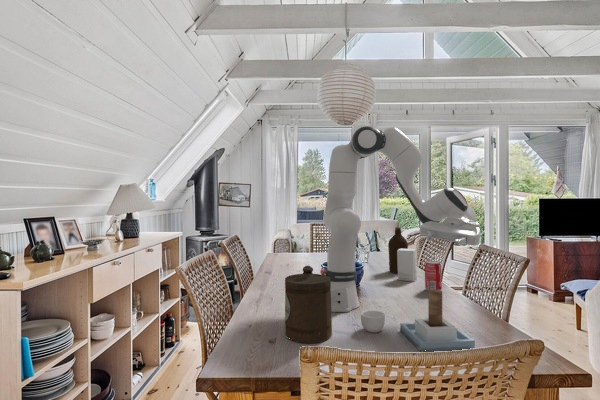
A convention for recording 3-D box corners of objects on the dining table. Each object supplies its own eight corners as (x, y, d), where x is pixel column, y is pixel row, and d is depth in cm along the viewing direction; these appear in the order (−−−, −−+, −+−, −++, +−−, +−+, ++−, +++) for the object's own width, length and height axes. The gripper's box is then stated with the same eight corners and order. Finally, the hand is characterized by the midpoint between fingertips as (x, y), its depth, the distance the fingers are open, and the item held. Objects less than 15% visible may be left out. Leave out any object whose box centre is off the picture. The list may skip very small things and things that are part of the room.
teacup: (382, 336, 118) (381, 319, 118) (358, 332, 121) (358, 316, 121) (388, 325, 127) (388, 309, 127) (365, 322, 130) (365, 307, 130)
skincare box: (417, 279, 192) (417, 249, 192) (413, 282, 187) (413, 250, 186) (400, 277, 197) (400, 247, 196) (396, 280, 191) (396, 249, 191)
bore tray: (421, 352, 106) (421, 334, 106) (400, 331, 122) (400, 315, 122) (474, 349, 108) (474, 331, 108) (447, 328, 124) (447, 313, 124)
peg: (432, 339, 113) (432, 292, 112) (426, 334, 117) (426, 289, 116) (444, 338, 113) (444, 292, 113) (438, 333, 117) (438, 288, 117)
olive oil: (411, 271, 210) (410, 227, 210) (403, 275, 202) (403, 228, 202) (393, 269, 217) (393, 226, 216) (385, 272, 209) (384, 227, 208)
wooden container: (296, 324, 130) (295, 260, 129) (337, 329, 124) (337, 263, 123) (277, 339, 116) (276, 269, 115) (322, 347, 110) (322, 272, 110)
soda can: (442, 292, 167) (442, 263, 167) (425, 291, 168) (425, 263, 168) (440, 288, 174) (440, 260, 174) (424, 287, 175) (423, 260, 175)
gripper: (427, 215, 144) (413, 227, 134) (484, 224, 132) (474, 238, 121) (426, 230, 146) (412, 243, 136) (483, 240, 134) (473, 255, 123)
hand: (442, 241), depth 128 cm, fingers open, 8 cm apart
